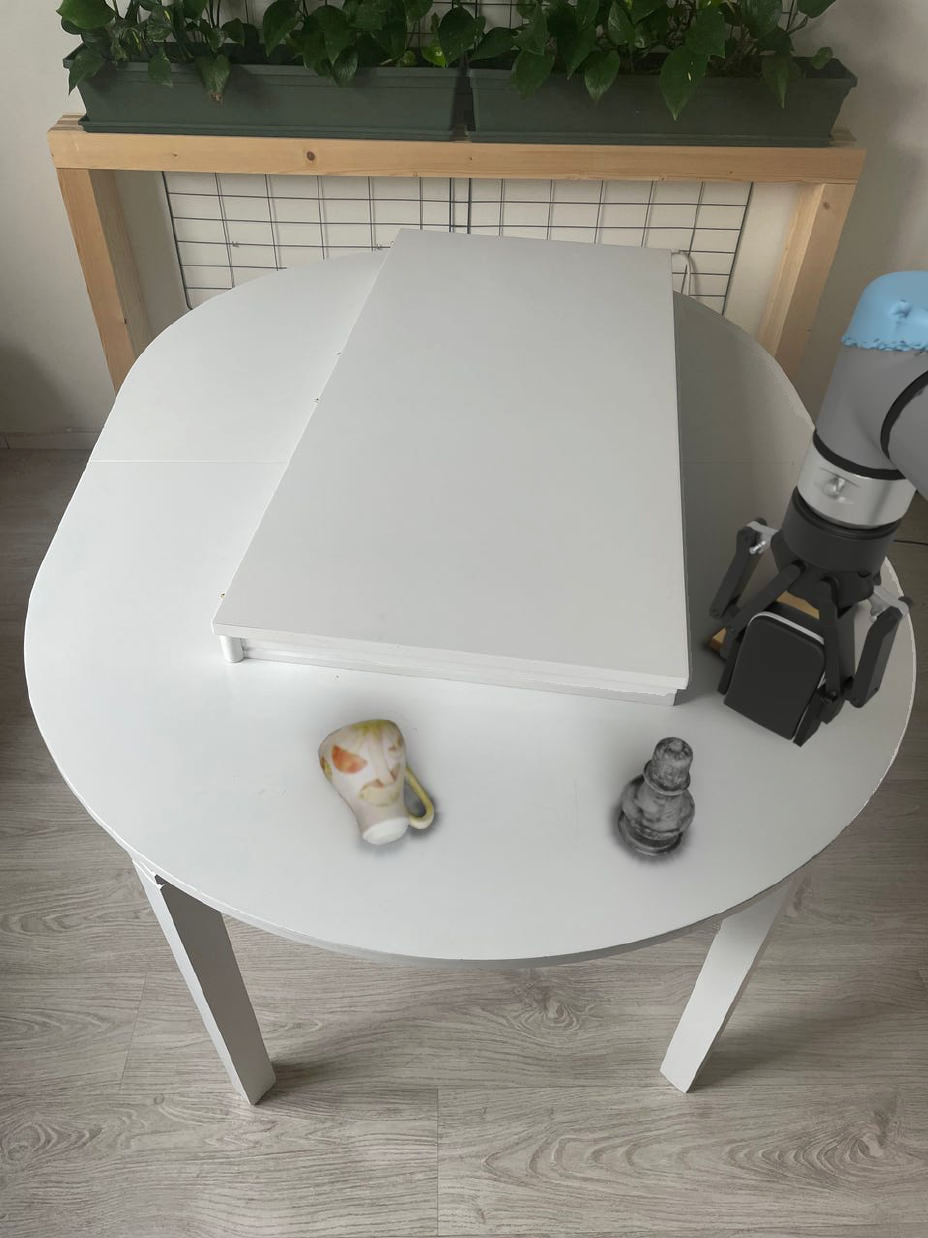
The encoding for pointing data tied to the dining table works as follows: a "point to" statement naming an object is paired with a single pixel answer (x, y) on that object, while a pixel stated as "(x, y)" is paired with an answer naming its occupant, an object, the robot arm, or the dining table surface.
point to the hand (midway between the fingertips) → (766, 710)
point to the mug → (373, 778)
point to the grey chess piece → (659, 800)
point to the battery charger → (778, 668)
